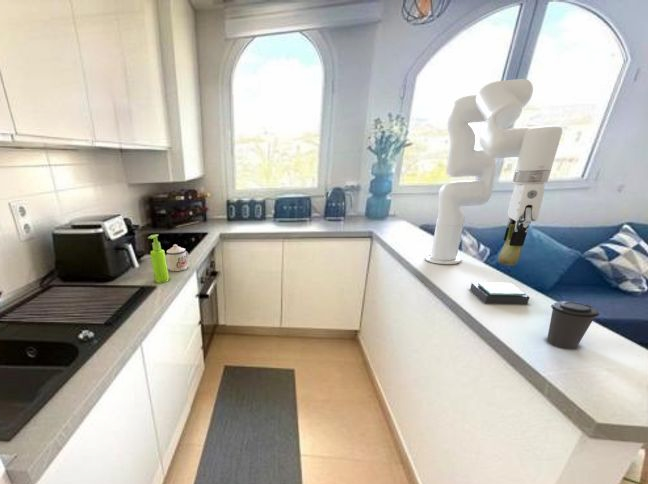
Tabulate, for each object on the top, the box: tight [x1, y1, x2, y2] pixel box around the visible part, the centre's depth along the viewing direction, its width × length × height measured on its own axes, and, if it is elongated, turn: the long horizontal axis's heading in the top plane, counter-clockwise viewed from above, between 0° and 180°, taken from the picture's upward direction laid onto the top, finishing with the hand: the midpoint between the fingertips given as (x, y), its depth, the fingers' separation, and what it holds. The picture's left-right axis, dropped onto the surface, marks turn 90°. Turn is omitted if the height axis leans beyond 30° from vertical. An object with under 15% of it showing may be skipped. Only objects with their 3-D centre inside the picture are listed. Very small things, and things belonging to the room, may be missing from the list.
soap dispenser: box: [147, 234, 170, 284], centre depth 146 cm, size 6×7×20 cm
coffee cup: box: [546, 301, 600, 350], centre depth 80 cm, size 8×8×10 cm
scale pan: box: [477, 282, 527, 295], centre depth 107 cm, size 10×9×1 cm
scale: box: [469, 281, 530, 306], centre depth 108 cm, size 12×11×3 cm
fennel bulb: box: [497, 224, 523, 267], centre depth 101 cm, size 6×5×12 cm
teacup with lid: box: [165, 243, 189, 272], centre depth 163 cm, size 12×9×12 cm
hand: (513, 242), depth 101 cm, fingers closed on fennel bulb, 5 cm apart
